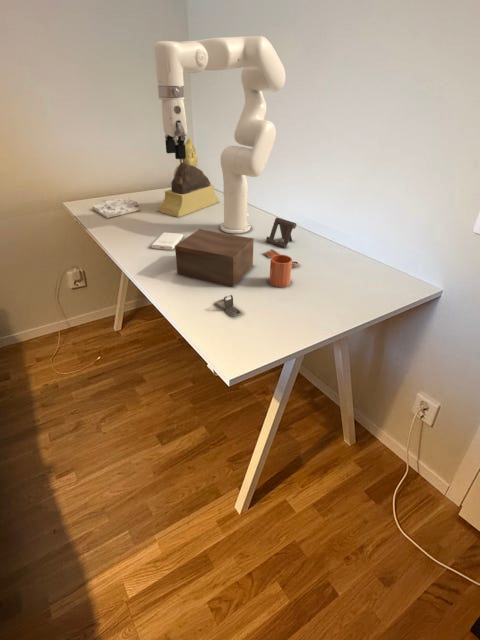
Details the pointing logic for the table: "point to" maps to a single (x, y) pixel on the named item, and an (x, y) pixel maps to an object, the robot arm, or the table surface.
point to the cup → (280, 270)
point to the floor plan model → (116, 207)
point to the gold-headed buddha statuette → (188, 187)
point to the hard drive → (167, 241)
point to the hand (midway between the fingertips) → (175, 155)
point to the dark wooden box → (214, 257)
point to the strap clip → (228, 305)
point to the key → (272, 253)
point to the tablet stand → (282, 232)
